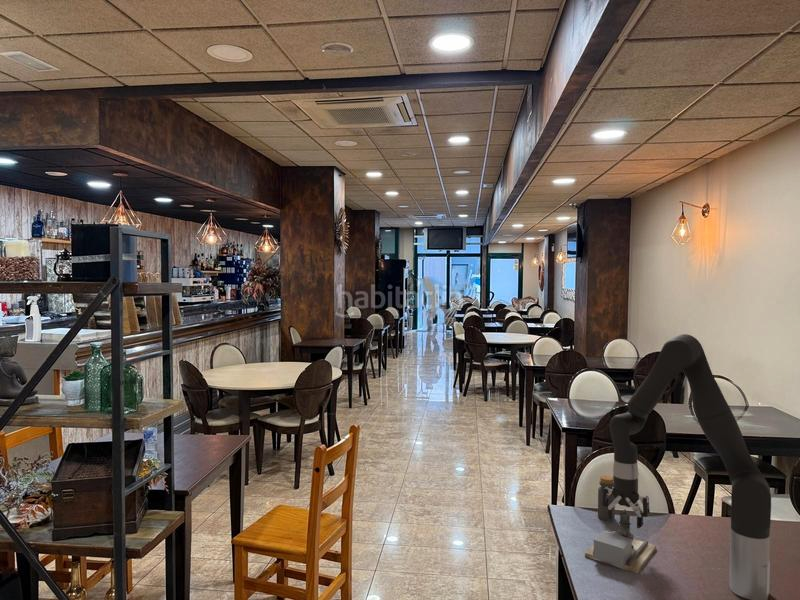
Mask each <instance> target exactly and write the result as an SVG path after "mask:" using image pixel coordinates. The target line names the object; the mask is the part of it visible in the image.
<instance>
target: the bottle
mask: <svg viewBox="0 0 800 600" xmlns="http://www.w3.org/2000/svg"><path fill="white" fill-rule="evenodd" d="M599 478H600V481H599V486H600V487H598V488H597V495H598V496H597V517H598V519H600V520H602V521H606V522H607V521H608V522H609V521H610V519H609V517H608V508H607V507H605V506H603V505H602V502H603V489H605V488H606V487H609V489H612V490H613V477H612V476H610V475H601V476H599ZM614 500H615V498H614V496H613V495H612V493H611V494H610V495H609V503H610V504H611V503H612V502H613V501H614ZM613 508H614V518H615V515H616V514H615V513H616V512H615V511H616V505H615V506H614V507H613ZM610 522H611V521H610Z"/></svg>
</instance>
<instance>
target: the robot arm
mask: <svg viewBox="0 0 800 600" xmlns="http://www.w3.org/2000/svg"><path fill="white" fill-rule="evenodd" d="M705 353H706V352H705V351H704V348H703V345H702V344H701V342H700V341H699V340H698V339H697V337H694V336H692V335H691V334H687V333H685V334H684V333H683V334H679V335H677V336H675V337H672V338H671V339H669V340H667V341H666V342H665V343H664V344H663V346H662V348H661V350H660V351H659V354H658V356H657V359H656V361H655V363H654V365H653V366H652V368H651V370H650V372H649V373H648V375H647V376H646V377H645V379H644V380H643V381H642V382H641V384H640V385H639V386H638V387H637V389H636V390H635V392H634V393H633V395H632V396H631V397H630V398H629V400H628V402H627V409H628V410H627V411H626V412H624V413H620V414H619V413H618V414H616V415H613V417H611V419H610V421H609V426H608V427H609V433H610V437H611V441H612V445H613V465H612V470H613V472H612V473H613V475H612V476H613V487H612V488H613V490H612V489H609V487H606V488H605V489H603V502H602V505H603V506H605V507H607V508H608V517H609V519H610V522H613V521H614V520H615V517H614V508H613V507H614V506H615V507H616V505H618V504H619V506H622V507H624V506H625V507H627V508H631V509H632V511H633V512H635V515H637V516H636V528H637V529H640V528H642V527H643V525H644V517H645V518H647V517H648V516H649V515H650V513H651V512H650V498H649V496H648V495H645V496H643V495H640V494H639V466H638V446H637V445H636V443H633V442H632V441H631V440H630V436H631V435H636V434H637V433H639V432H641V430H643V428H644V426H645V424H646V422H647V420H648V417H649V415H650V414H651V412H652V411H653V410H654V409H655V407H656V406H657V405H658V404H659V402H660V401H661V399H662V397H663V395H664V393H665V391H666V389H667V388H668V386H669V385H670V383H671V382H672V381H673V379H674V378H675V377H677V375H679V374H680V373H681V372H682V371H683V373H684V375H685V377H686V380H687V382H688V385H689V389H690V396H691V404H692V409H693V412H694V416H695V417H696V419H697V422H698V425H699V426H700V428H701V430H702V431H703V433H704V436H705V437H706V439H707V440H708V441H709V443H710V444H711V446H712V447H713V449H714V450H715V451H716V452H717V454H718V455H719V457H720V458H721V460H722V463H723V465H724V467H725V469H726V472H727V476H729V480H730V484H731V494H730V495H731V498H730V500H731V501H730V538H729V541H730V545H729V547H730V548H729V579H728V580H729V581H728V582H729V586H728V587H729V590H730V591H731V592H732V593H733V594H735V595H736V596H739V597H740V598H741V597H742V598H743V599H747V600H768V598H769V594H770V576H771V575H770V574H771V573H770V572H771V570H770V569H771V568H770V567H771V566H770V565H771V560H770V538H771V537H770V536H771V534H770V531H771V525H772V524H771V521H772V517H771V515H772V495H771V494H772V492H771V488H770V485H769V483H768V482H767V480H766V478H765V477H764V475H763V473H762V472H761V470H760V469H759V467H758V466H757V464H756V463H755V461H754V459H753V458H752V456H751V454H750V452H749V450H748V447H747V444H746V441H745V439H744V436H743V434H742V430H741V429H740V426H739V423H738V422H737V420H736V417H735V416H734V413H733V412H732V409H731V408H730V406H729V404H728V401H727V400H726V398H725V396H724V394H723V393H722V390H721V388H720V386H719V384H718V382H717V381H716V380H717V379H716V378H715V376H714V374H713V372H712V370H711V367H710V364H709V362H708V358H707V356H706V354H705ZM611 493H612V495H613V496H614V498H615V500H614V501H613V502H612V503H611V504H610V503H609V495H610V494H611ZM638 501H640V503H641V504H642V508H641V505H640V504H639V503H638Z"/></svg>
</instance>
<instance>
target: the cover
mask: <svg viewBox="0 0 800 600" xmlns="http://www.w3.org/2000/svg"><path fill="white" fill-rule="evenodd" d="M608 532H609V531H608ZM608 532H606V531H605V530H602V531H601V532H600V533H599V534H598V535H597V536H596V537H595V538H594V539H593V544H594V555H593V557H594V558H597V559H600V560H603V561H606V562H609V563H612V564H615V565H618V566H621V567H624V566H625V564H626V563H627V562H628V560H629V559H630V558H631V557H632V539H629V538H626V537H622V536H619V535H615V534H612V532H611V533H608Z"/></svg>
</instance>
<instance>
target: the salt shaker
mask: <svg viewBox="0 0 800 600" xmlns="http://www.w3.org/2000/svg"><path fill="white" fill-rule="evenodd" d="M618 524H619V530H617V531H616V532H615V535H619V536H622V537H626V538H629V539H632V541H633V539H635V535H634V534H633V533H632V532H631V529H630V527H631V525H632V524H631V519H630V513H629V512H627V510H626V509H623V511H621V512H620V513H619V521H618ZM632 548H633V545H632Z"/></svg>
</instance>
